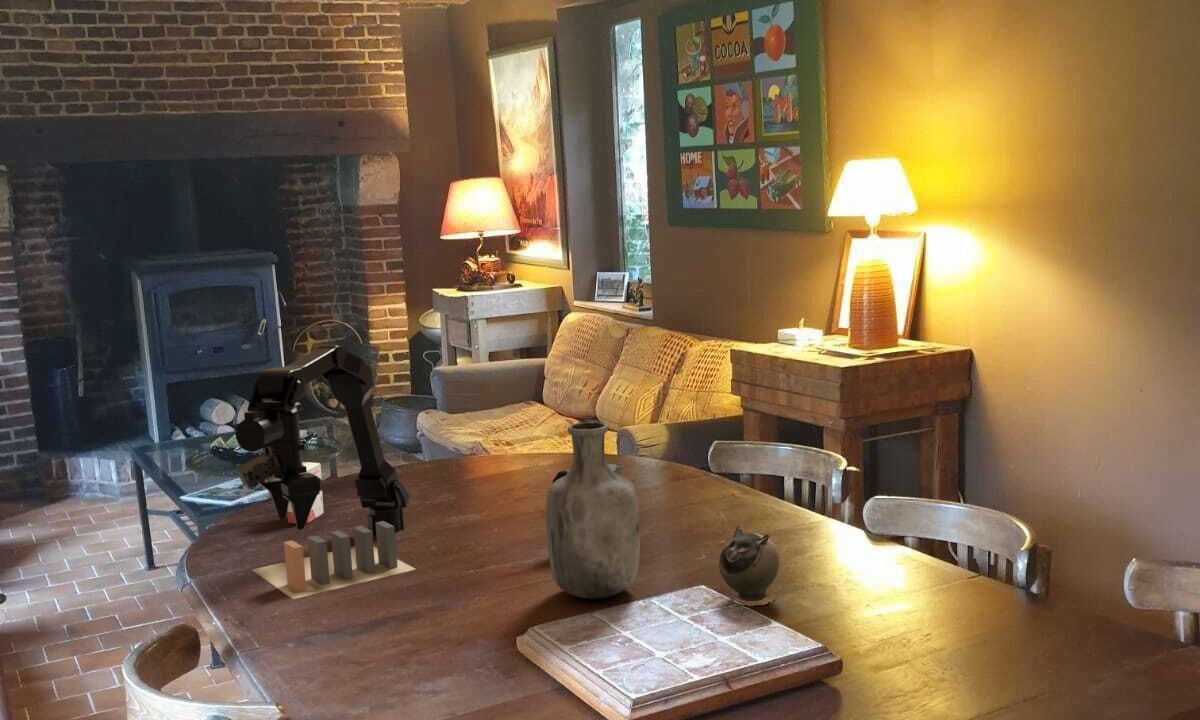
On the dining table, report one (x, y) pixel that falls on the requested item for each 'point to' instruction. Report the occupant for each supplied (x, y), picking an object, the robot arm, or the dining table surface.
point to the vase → (592, 521)
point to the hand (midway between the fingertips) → (291, 523)
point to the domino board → (279, 576)
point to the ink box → (318, 503)
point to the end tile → (295, 565)
